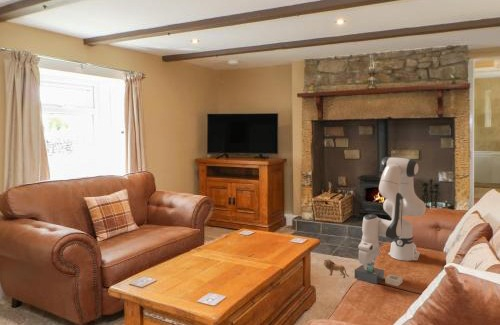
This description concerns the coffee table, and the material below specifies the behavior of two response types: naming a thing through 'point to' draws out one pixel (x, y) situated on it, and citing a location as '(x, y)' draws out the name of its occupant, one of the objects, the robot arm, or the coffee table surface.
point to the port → (369, 275)
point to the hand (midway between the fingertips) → (369, 267)
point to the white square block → (393, 280)
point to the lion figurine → (334, 267)
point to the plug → (370, 267)
